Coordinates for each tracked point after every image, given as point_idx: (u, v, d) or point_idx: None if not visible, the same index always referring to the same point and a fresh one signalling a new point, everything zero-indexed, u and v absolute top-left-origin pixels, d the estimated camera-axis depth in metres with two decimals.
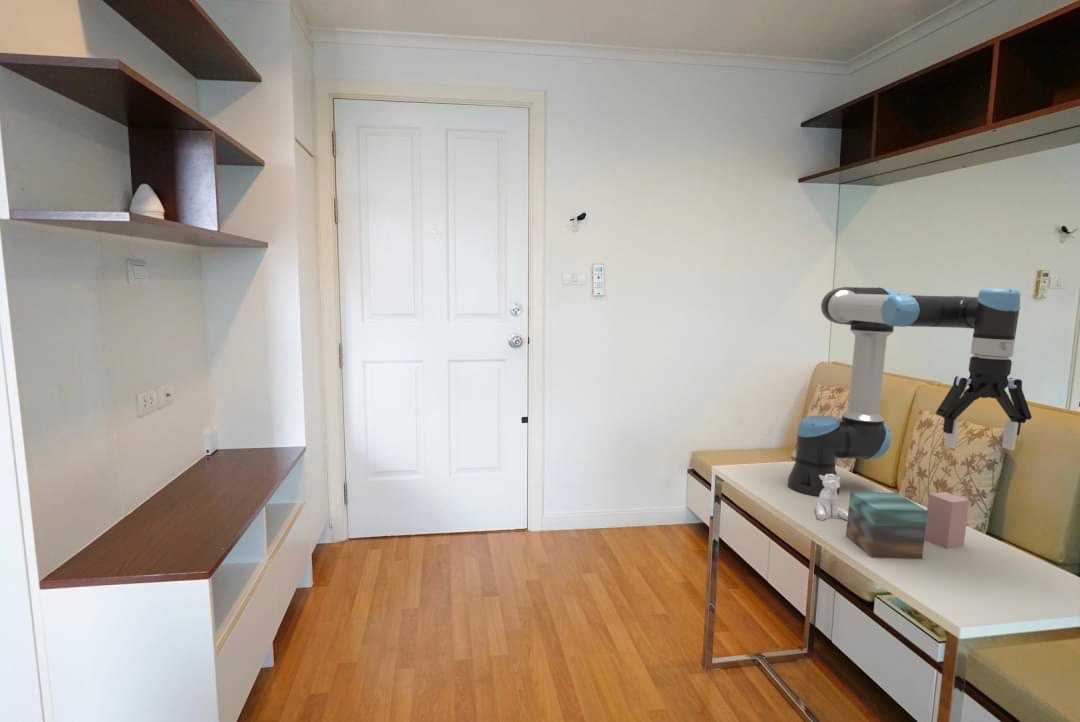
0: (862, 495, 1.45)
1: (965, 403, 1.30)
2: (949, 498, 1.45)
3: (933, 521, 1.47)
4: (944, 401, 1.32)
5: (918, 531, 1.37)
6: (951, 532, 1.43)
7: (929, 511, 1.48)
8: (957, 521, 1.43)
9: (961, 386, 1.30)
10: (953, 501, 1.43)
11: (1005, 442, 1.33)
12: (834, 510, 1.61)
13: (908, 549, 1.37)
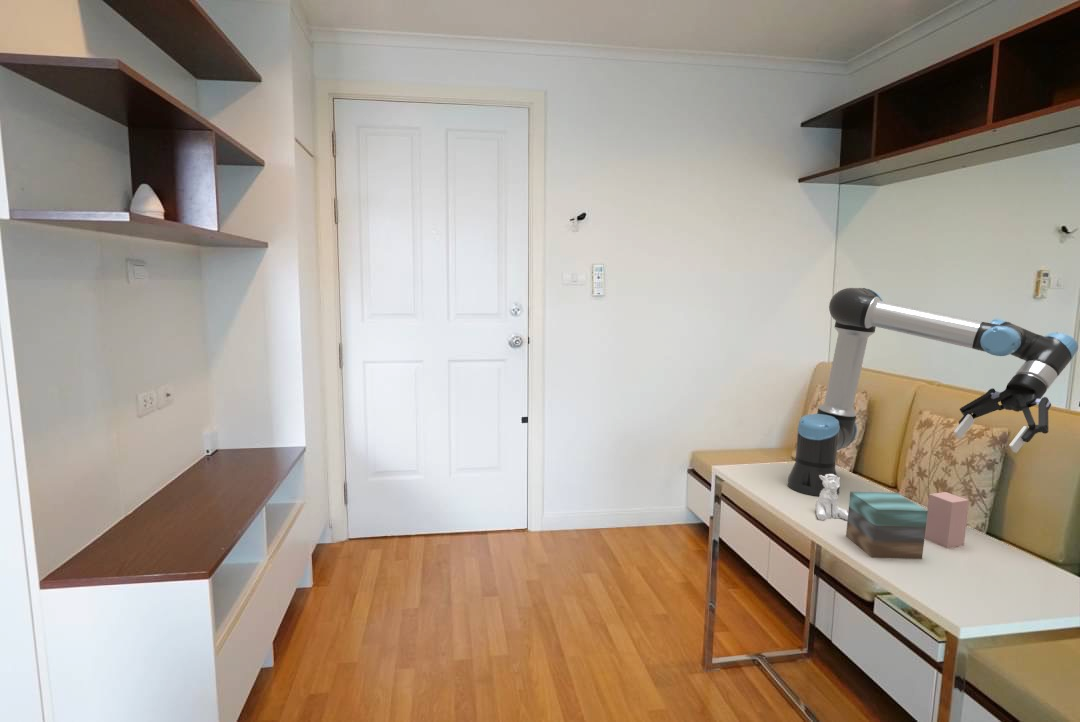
0: (862, 495, 1.45)
1: None
2: (949, 498, 1.45)
3: (933, 521, 1.47)
4: (1045, 417, 1.40)
5: (918, 531, 1.37)
6: (951, 532, 1.43)
7: (929, 511, 1.48)
8: (957, 521, 1.43)
9: None
10: (953, 501, 1.43)
11: (960, 430, 1.53)
12: (834, 510, 1.61)
13: (908, 549, 1.37)
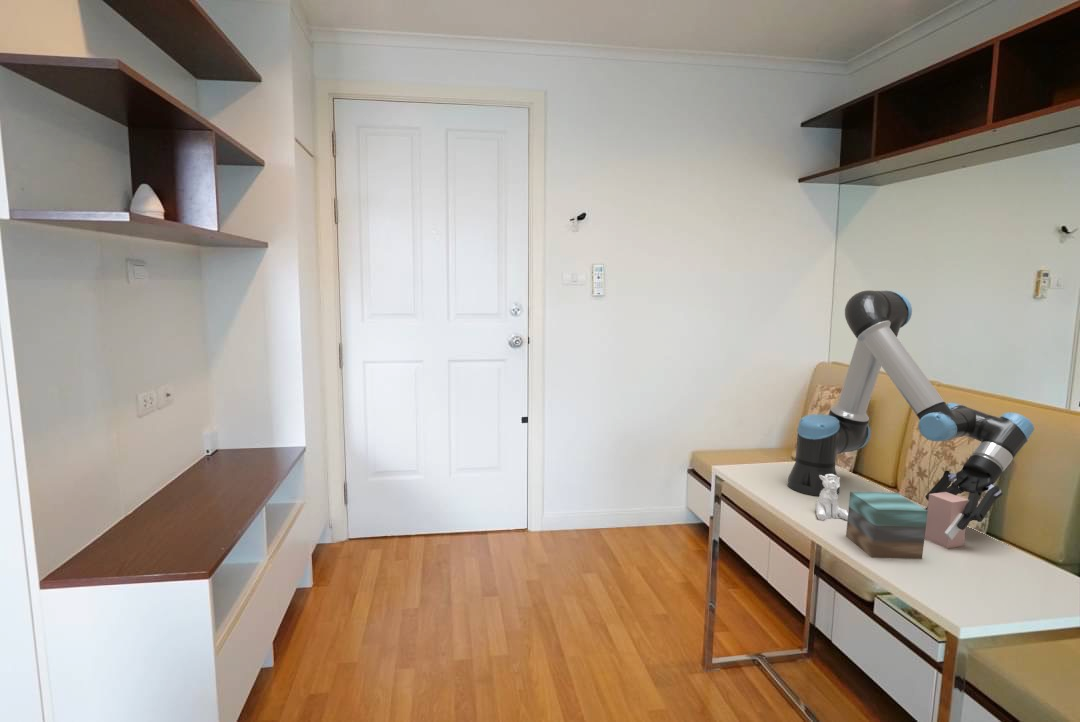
0: (862, 495, 1.45)
1: None
2: (949, 497, 1.45)
3: (933, 521, 1.47)
4: (984, 507, 1.41)
5: (918, 531, 1.37)
6: None
7: (929, 511, 1.48)
8: None
9: None
10: (953, 501, 1.43)
11: None
12: (834, 510, 1.61)
13: (908, 549, 1.37)
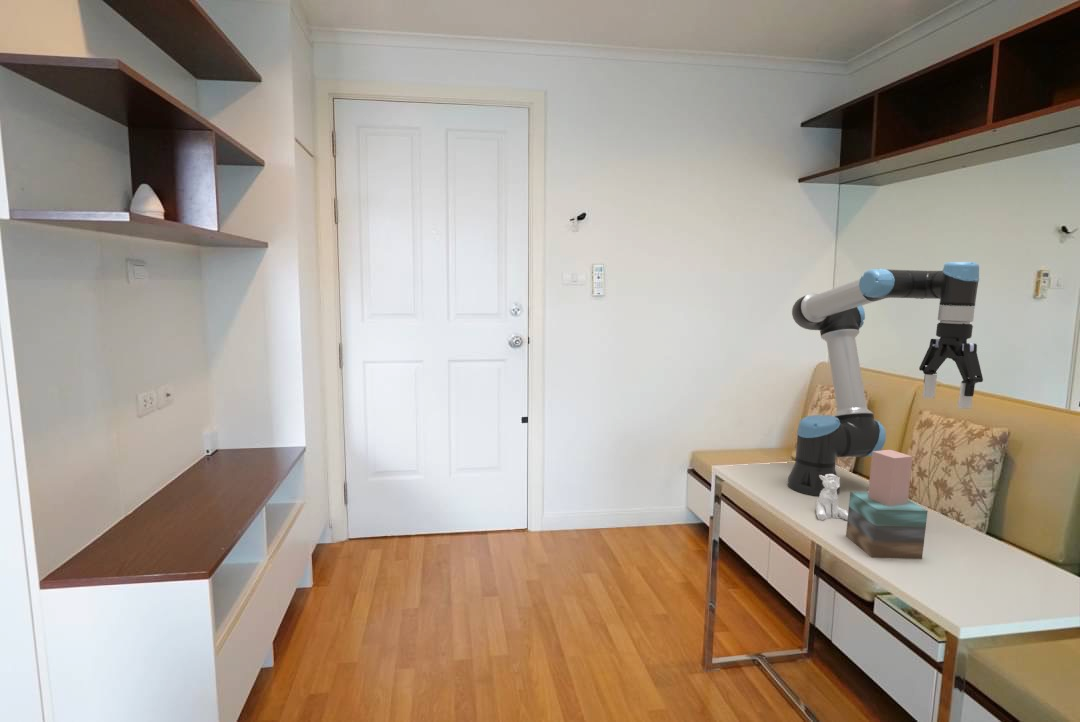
0: (862, 495, 1.45)
1: None
2: (892, 454, 1.40)
3: (876, 479, 1.41)
4: (972, 368, 1.41)
5: (918, 531, 1.37)
6: (893, 489, 1.38)
7: (872, 469, 1.42)
8: (899, 478, 1.38)
9: None
10: (895, 457, 1.37)
11: (927, 393, 1.57)
12: (834, 510, 1.61)
13: (908, 549, 1.37)
